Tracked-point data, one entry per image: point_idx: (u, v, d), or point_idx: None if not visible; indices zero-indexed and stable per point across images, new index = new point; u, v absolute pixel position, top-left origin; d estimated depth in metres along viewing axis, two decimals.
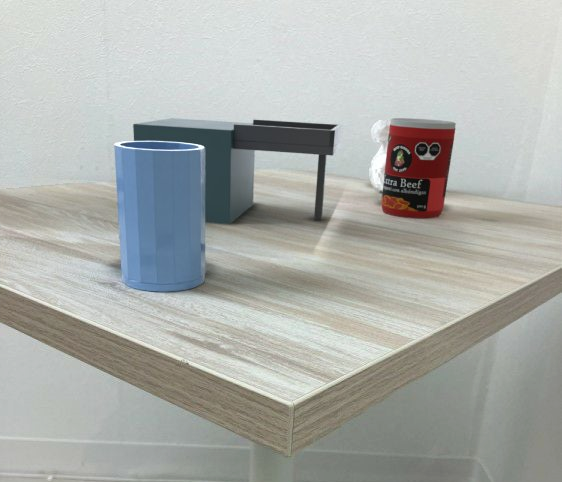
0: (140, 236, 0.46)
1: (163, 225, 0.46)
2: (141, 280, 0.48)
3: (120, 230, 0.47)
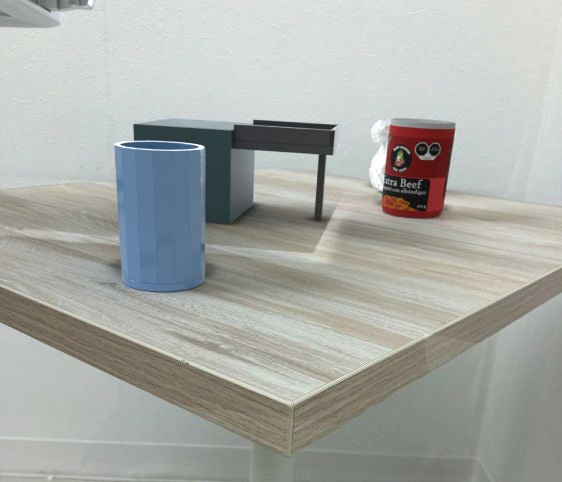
0: (140, 236, 0.46)
1: (163, 225, 0.46)
2: (141, 280, 0.48)
3: (120, 230, 0.47)
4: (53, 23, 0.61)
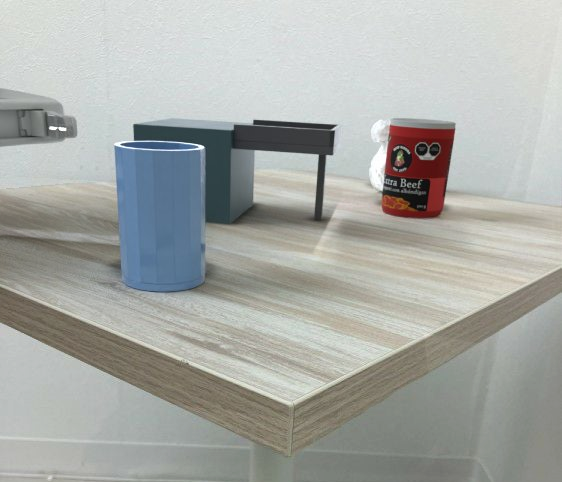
0: (140, 236, 0.46)
1: (163, 225, 0.46)
2: (141, 280, 0.48)
3: (120, 230, 0.47)
4: (54, 142, 0.60)
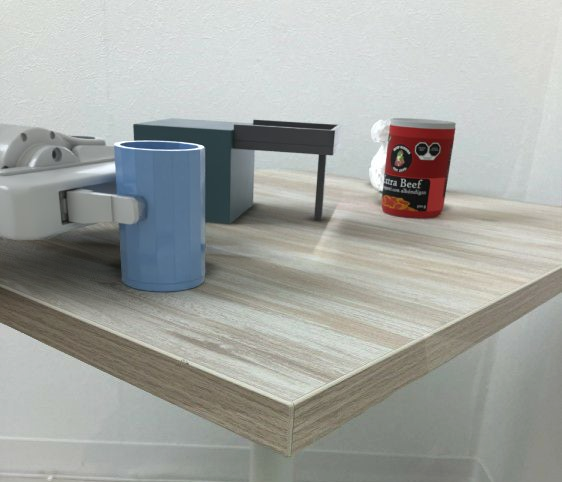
0: (139, 236, 0.46)
1: (163, 225, 0.46)
2: (141, 280, 0.48)
3: (120, 230, 0.47)
4: None
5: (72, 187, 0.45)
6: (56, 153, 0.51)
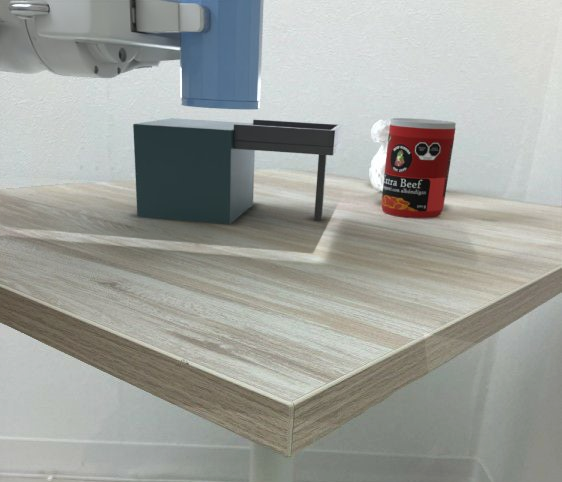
0: (202, 49, 0.49)
1: (225, 37, 0.48)
2: (202, 97, 0.50)
3: (183, 48, 0.50)
4: None
5: None
6: None
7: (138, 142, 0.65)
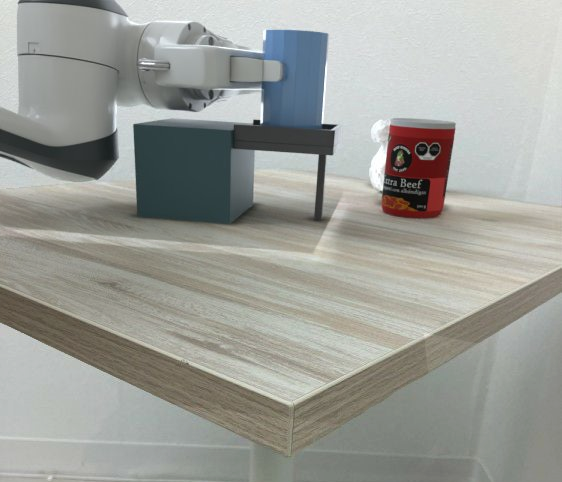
0: (282, 98, 0.63)
1: (300, 89, 0.63)
2: None
3: (265, 96, 0.64)
4: None
5: (233, 54, 0.61)
6: (209, 41, 0.68)
7: (138, 142, 0.65)
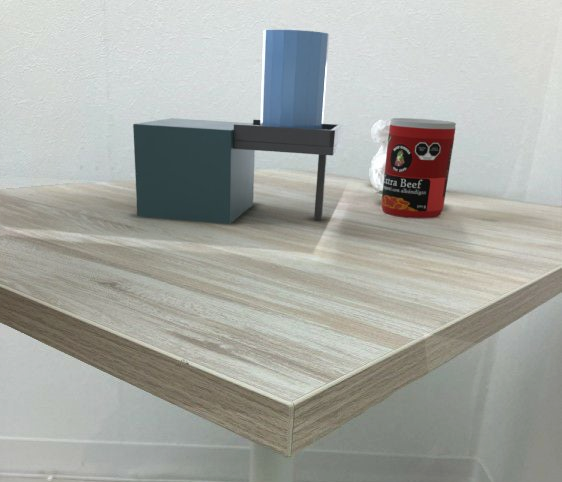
0: (282, 98, 0.63)
1: (300, 89, 0.63)
2: None
3: (265, 96, 0.64)
4: None
5: None
6: None
7: (138, 142, 0.65)
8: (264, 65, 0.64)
